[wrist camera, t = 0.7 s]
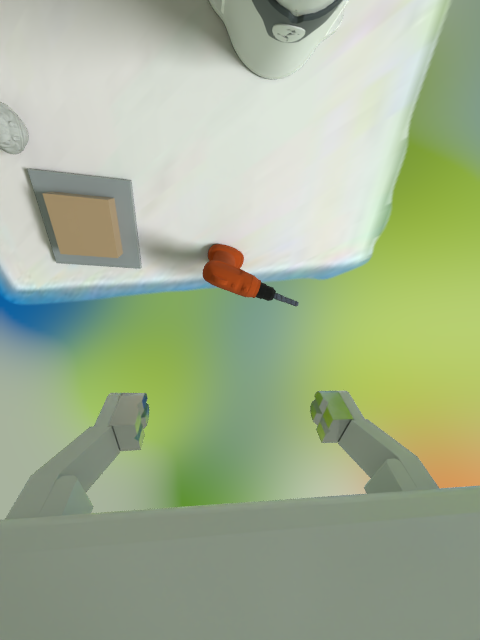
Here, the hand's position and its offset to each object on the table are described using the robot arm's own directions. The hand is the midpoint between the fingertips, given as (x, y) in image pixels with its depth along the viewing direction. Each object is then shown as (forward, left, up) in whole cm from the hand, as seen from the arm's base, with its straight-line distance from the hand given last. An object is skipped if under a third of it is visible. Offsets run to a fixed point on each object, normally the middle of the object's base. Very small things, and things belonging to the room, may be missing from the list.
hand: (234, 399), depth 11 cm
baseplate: (+2, -24, -43) cm, 49 cm away
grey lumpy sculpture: (-11, -32, -43) cm, 54 cm away
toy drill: (+8, +6, -43) cm, 44 cm away
